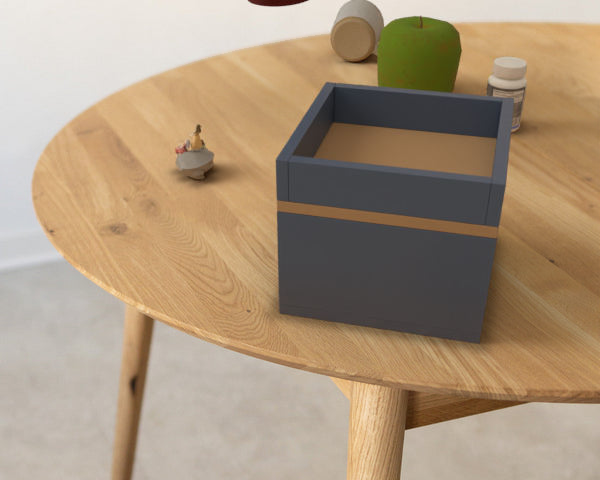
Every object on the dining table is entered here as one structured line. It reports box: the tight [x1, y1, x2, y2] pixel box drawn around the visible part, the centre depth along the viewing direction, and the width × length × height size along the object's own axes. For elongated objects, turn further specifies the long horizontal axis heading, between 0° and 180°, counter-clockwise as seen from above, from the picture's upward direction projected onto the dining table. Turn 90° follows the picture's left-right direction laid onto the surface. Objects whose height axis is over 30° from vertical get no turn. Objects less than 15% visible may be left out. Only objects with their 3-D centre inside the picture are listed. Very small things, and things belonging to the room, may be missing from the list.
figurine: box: [174, 123, 215, 181], centre depth 87 cm, size 5×4×6 cm
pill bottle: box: [485, 55, 528, 133], centre depth 97 cm, size 5×5×8 cm
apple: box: [376, 15, 463, 93], centre depth 105 cm, size 11×11×11 cm
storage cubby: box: [275, 81, 514, 345], centre depth 68 cm, size 17×17×14 cm
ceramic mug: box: [330, 0, 385, 63], centre depth 120 cm, size 11×8×8 cm
